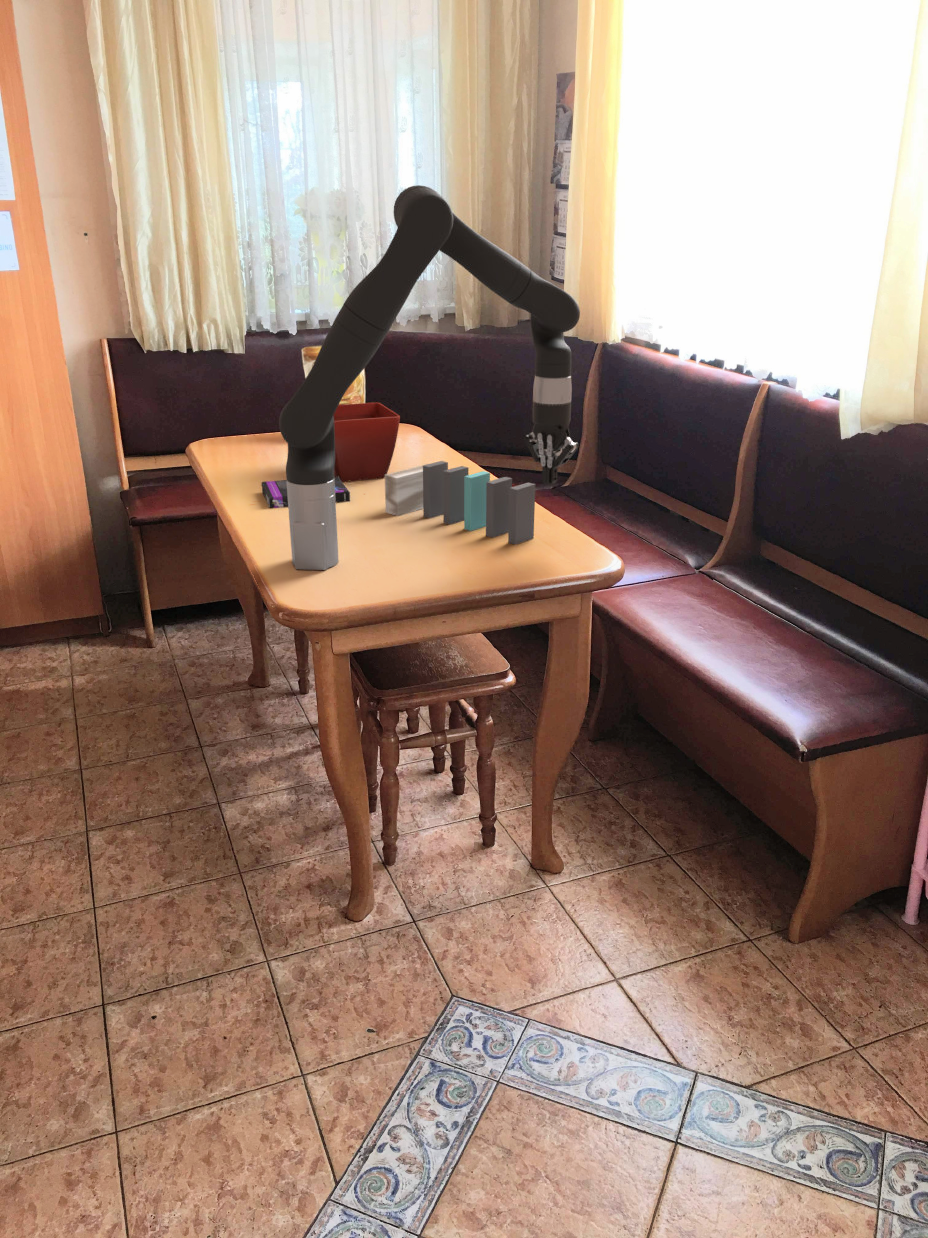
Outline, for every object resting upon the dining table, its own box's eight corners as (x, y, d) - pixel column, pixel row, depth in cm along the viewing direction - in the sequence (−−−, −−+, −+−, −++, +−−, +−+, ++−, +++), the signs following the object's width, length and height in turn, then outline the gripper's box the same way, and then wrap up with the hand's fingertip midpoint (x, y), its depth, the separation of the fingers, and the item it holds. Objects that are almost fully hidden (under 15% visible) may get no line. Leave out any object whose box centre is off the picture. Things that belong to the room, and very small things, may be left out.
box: (269, 512, 228) (351, 503, 233) (268, 497, 227) (350, 489, 232) (262, 495, 240) (340, 487, 246) (261, 481, 239) (339, 474, 244)
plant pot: (402, 480, 251) (401, 415, 244) (330, 487, 244) (327, 421, 238) (380, 463, 267) (379, 401, 260) (313, 469, 261) (309, 406, 254)
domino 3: (464, 529, 214) (464, 476, 209) (482, 523, 218) (483, 471, 213) (470, 531, 213) (471, 477, 208) (489, 525, 217) (490, 472, 212)
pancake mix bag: (304, 441, 290) (298, 345, 279) (365, 436, 296) (362, 342, 285) (309, 446, 284) (303, 348, 273) (371, 441, 291) (368, 345, 279)
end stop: (440, 503, 232) (440, 466, 228) (397, 516, 223) (396, 477, 219) (428, 500, 234) (428, 463, 231) (385, 512, 225) (384, 474, 222)
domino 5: (533, 538, 209) (535, 484, 204) (515, 544, 205) (516, 489, 200) (526, 536, 210) (528, 482, 205) (508, 542, 206) (509, 487, 201)
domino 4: (510, 531, 213) (512, 478, 208) (492, 537, 209) (493, 483, 204) (504, 529, 214) (505, 476, 209) (485, 535, 210) (486, 481, 205)
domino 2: (468, 518, 221) (468, 467, 216) (449, 524, 217) (449, 472, 212) (461, 516, 222) (462, 465, 218) (443, 522, 218) (443, 470, 214)
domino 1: (447, 512, 225) (447, 462, 220) (429, 518, 221) (428, 467, 216) (441, 511, 226) (441, 460, 222) (423, 516, 222) (422, 465, 218)
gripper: (590, 400, 189) (586, 486, 196) (538, 391, 197) (536, 475, 204) (566, 406, 184) (563, 494, 191) (514, 397, 192) (512, 481, 199)
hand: (549, 484), depth 197 cm, fingers closed
